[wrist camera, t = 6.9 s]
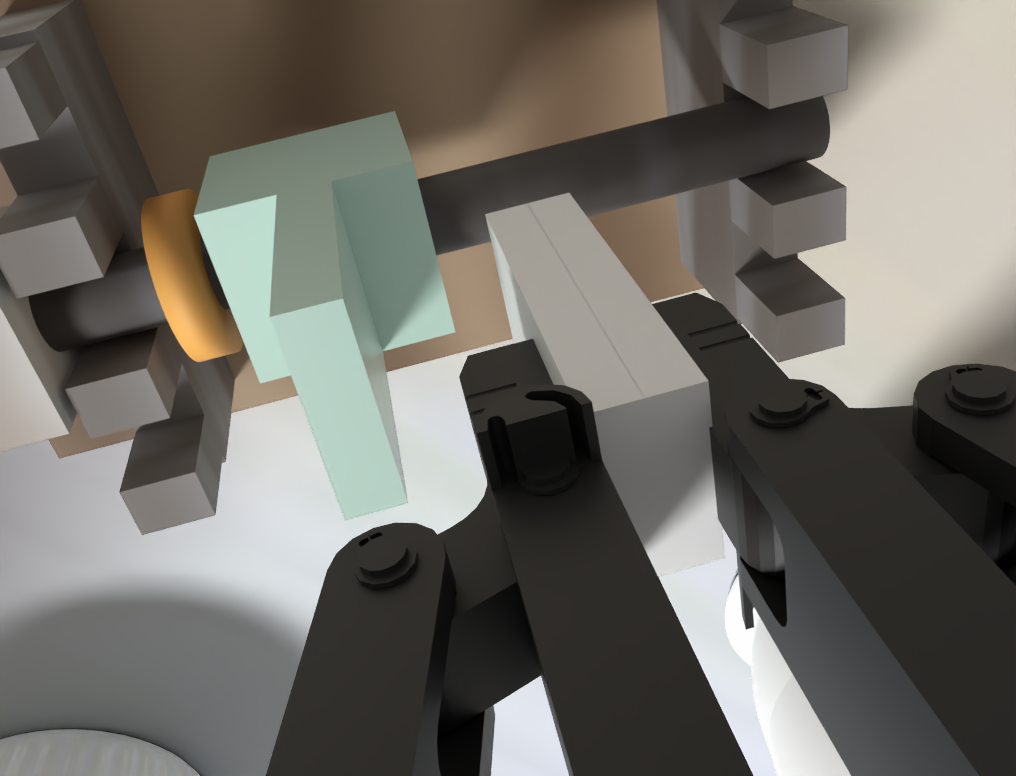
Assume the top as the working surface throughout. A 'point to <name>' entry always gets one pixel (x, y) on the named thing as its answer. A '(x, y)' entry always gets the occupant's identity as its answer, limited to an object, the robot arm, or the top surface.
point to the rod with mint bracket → (439, 169)
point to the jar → (781, 701)
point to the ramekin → (86, 755)
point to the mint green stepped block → (329, 284)
